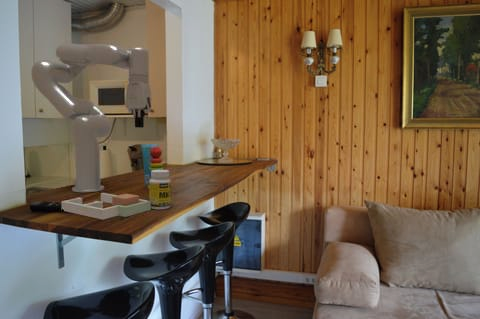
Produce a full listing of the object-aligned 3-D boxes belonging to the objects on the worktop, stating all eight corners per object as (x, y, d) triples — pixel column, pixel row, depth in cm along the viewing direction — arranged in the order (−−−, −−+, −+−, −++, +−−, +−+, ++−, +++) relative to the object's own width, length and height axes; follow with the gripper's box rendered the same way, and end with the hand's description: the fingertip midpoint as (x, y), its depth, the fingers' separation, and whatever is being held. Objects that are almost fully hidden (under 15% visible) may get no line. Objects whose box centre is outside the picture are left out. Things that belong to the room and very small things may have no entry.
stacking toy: (154, 187, 164) (154, 145, 162) (169, 188, 161) (169, 146, 159) (143, 190, 156) (143, 146, 154) (159, 191, 153) (159, 147, 152)
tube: (157, 184, 172) (157, 143, 170) (158, 185, 168) (158, 144, 166) (141, 184, 170) (141, 143, 168) (142, 186, 165) (141, 144, 163)
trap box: (60, 210, 119) (60, 201, 119) (103, 200, 134) (103, 192, 134) (109, 221, 107) (109, 211, 107) (150, 209, 122) (150, 201, 122)
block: (112, 211, 119) (112, 196, 119) (126, 208, 125) (126, 193, 124) (125, 214, 117) (125, 198, 116) (139, 210, 122) (139, 195, 121)
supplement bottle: (160, 210, 121) (160, 172, 120) (144, 207, 125) (144, 170, 123) (175, 206, 127) (175, 170, 126) (159, 204, 131) (159, 168, 130)
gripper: (118, 80, 143) (118, 127, 145) (145, 78, 136) (146, 127, 138) (132, 82, 150) (133, 127, 151) (159, 80, 142) (159, 127, 144)
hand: (139, 127), depth 145 cm, fingers closed
